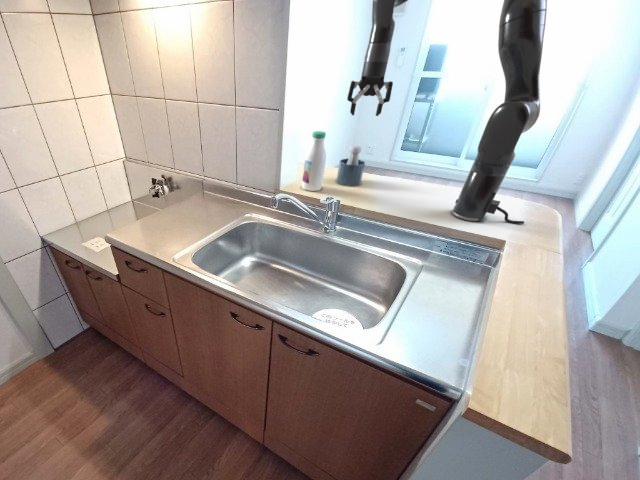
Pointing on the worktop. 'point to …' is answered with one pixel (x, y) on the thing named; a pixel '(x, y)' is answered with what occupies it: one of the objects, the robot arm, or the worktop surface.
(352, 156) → the salt shaker
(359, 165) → the cup
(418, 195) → the worktop surface
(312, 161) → the milk bottle
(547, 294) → the worktop surface
